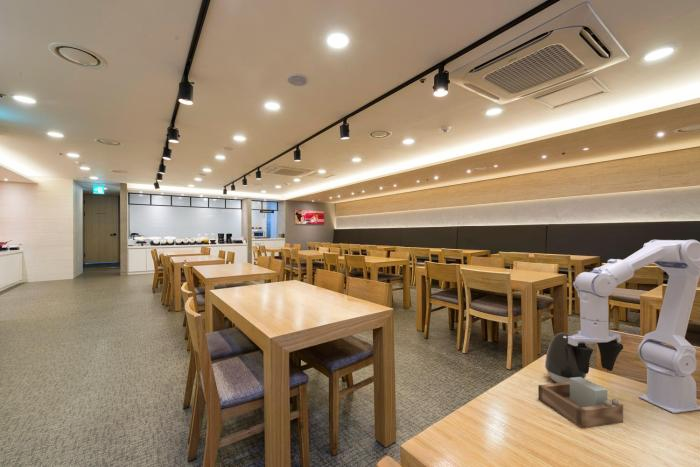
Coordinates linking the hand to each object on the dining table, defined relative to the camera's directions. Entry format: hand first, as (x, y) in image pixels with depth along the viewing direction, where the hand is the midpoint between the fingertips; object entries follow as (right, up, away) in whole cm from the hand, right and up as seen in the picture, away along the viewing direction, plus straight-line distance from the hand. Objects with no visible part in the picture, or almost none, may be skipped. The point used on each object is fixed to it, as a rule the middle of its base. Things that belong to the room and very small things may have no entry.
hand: (595, 370), depth 77 cm
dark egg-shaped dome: (+2, -10, +14) cm, 17 cm away
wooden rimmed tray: (-5, -10, -1) cm, 11 cm away
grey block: (-2, -9, -1) cm, 9 cm away
